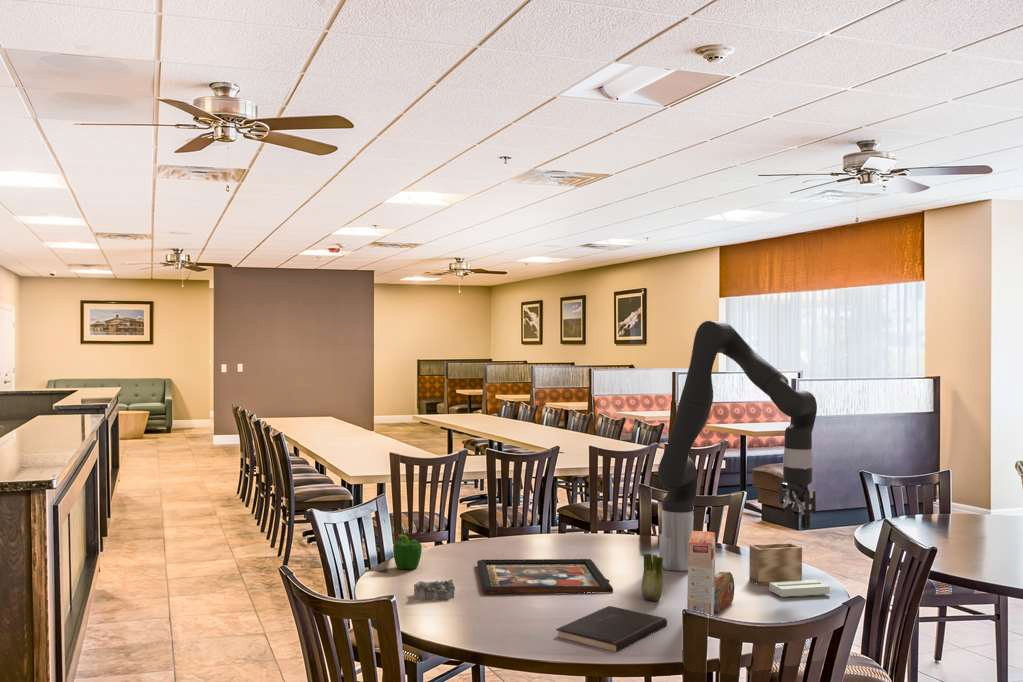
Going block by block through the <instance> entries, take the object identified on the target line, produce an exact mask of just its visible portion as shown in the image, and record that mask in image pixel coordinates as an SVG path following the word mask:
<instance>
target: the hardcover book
mask: <svg viewBox="0 0 1023 682" xmlns="http://www.w3.org/2000/svg"><path fill="white" fill-rule="evenodd" d="M666 625H667V626H668V621H667V619H666V618H665V617H662V616H658V615H653V614H649V613H643V612H639V611H635V610H630V609H626V608H620V607H618V606H613V605H607V606H606V607H603V608H601V609H599V610H596V611H594V612H592V613H589V614H587V615H585V616H582V617H581V618H577V619H576V620H574V621H571V622H568V623H567V624H564V625H562V626H560V627H558V628H556V629H555V631H557V632H558V633H557V637H558V638H561V639H565V640H569V641H574V642H577V643H582V644H585V645H588V646H594V647H597V648H601V649H606V650H608V651H613V652H616V653H618V652H619V651H622V650H623V649H625V648H628V647H629V646H631V645H633V644H635V643H637V642H639V641H641V640H642V638H643V639H644V638H647V637H648V636H650V635H652V634H654V633H656V632H658V631H660V630H661V629H660V628H662V629H664V628H666V627H667V626H666ZM663 627H664V628H663ZM659 629H660V630H659ZM657 630H658V631H657ZM655 631H656V632H655ZM653 632H654V633H653ZM651 633H652V634H651ZM649 634H650V635H649ZM640 639H641V640H640ZM638 640H639V641H638ZM636 641H637V642H636ZM634 642H635V643H634ZM630 644H631V645H630Z"/></svg>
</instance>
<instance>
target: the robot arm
mask: <svg viewBox="0 0 1023 682" xmlns="http://www.w3.org/2000/svg"><path fill="white" fill-rule="evenodd" d="M718 354H722V355H724V356H726V357H728V358H729V359H731V360H732V361H734V362H735V363H736V364H737V365H738V366H739V367H740V368H741V369H742V371H743V372H744V374H745V375H746V378H748V379H749V380H750V381H751V383H752V384H753V385H755V386H756V387H757V388H758V390H760V391H762V392H763V393H764V394H766V395H767V396H768V397H769V398H770V400H771V401H772V403H773V404H774V405H775V407H776V408H777V409H778V410H779V411H780V412H782V413H783V414H784V415H786V416H787V417H789V418H791V421H790V425H788V426H787V427H786V428H785V431H784V444H783V445H784V448H783V449H784V450H783V457H782V459H783V461H782V462H783V463H782V480H783V482H780V485H779V487H780V489H779V491H780V492H779V504H780V505H782V507H783V509H784V517H783V518H784V520H783V521H784V522H785V523H793V521H794V506H795V504H796V507H797V508H799V509H800V513H801V515H800V528H801V529H803V530H809V529H810V528H811V515H813V514H816V512H817V511H816V510H817V508H816V506H817V505H816V503H817V501H816V491H815V490H809V487H808V485H810V484H812V483H813V461H814V459H813V450H812V449H813V447H812V446H813V444H812V443H813V436H812V435H813V430H814V426H815V421H816V418H817V411H818V404H817V400H816V397H815V396H814V394H813V393H812V392H810V391H808V390H796V389H793V388H792V387H791V385H790V384H789V380H788V377H786V376H785V375H784V374H783V373H781V372H780V371H779V370H778V369H777V368H776V367H774V366H773V365H772V364H770V363H769V362H768V361H767V360H765V359H764V358H763V357H762V356H761V355H760V354H758V353H757V352H756V351H755V350H754V349H753V348H752V347H751V346H750V345H749V344H748V343H747V342H746V341H745V339H744V338H743V337H742V336H741V334H739V333H738V332H737V330H736V329H735V328H734V327H733V326H732V325H731V324H730V323H727V322H725V321H719V320H717V321H716V320H704V321H703V322H702V323H701V324H700V325H698V327H697V329H696V332H695V334H694V339H693V344H692V351H691V357H690V361H689V362H690V363H689V366H688V370H687V372H686V373H687V374H686V378H685V382H684V386H683V389H682V392H681V393H680V394H681V395H680V399H679V402H678V405H677V409H676V414H675V417H674V421H673V425H672V428H671V430H670V431H671V432H670V434H669V435H670V436H669V439H668V442H667V444H666V447H665V449H664V452H663V454H662V456H661V460H660V461H659V464H658V467H657V468H658V469H657V476H658V481H659V482H660V484H661V485H662V486H663V487H664V488H667V493H666V495H665V497H664V498H662V501H661V506H662V507H661V533H660V534H659V535H658V536H659V537H658V539H659V543H658V548H659V549H658V550H659V551H658V553H659V555H658V557H663V562H662V569H664V570H666V571H672V572H673V571H676V572H686V571H687V572H688V542H689V540H690V537H691V534H692V531H694V507H695V505H694V504H695V503H696V500H697V490H698V489H697V487H698V485H697V484H698V471H697V465H696V464H695V463H696V462H695V461H694V460H693V459H692V458H691V457H689V456H690V453H691V449H692V447H693V445H694V443H695V442H696V440H697V438H698V436H699V435H700V433H701V432H702V430H703V428H704V427H705V425H706V423H707V422H708V418H709V417H710V412H711V409H712V406H713V402H714V387H713V377H712V372H713V368H714V365H715V364H714V363H715V361H716V357H717V355H718Z"/></svg>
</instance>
